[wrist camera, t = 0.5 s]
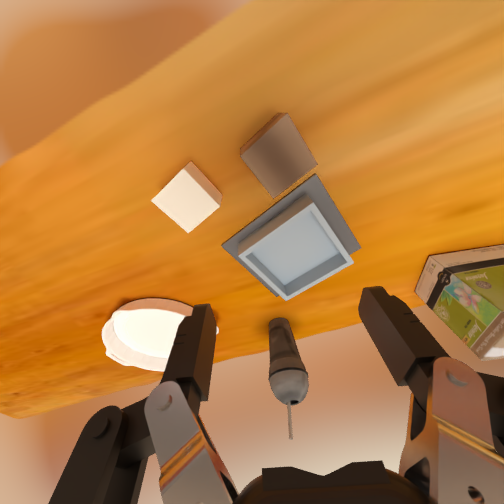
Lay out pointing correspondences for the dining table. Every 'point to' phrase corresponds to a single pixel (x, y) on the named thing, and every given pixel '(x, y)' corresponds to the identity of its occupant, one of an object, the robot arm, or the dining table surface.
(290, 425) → the beverage cup
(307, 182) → the grey shallow box
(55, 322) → the dining table surface
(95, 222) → the dining table surface
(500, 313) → the tea box
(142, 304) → the pan
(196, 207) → the cream block
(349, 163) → the dining table surface
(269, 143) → the walnut block
